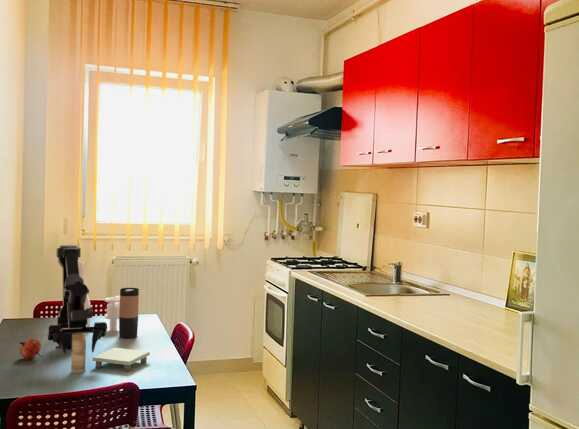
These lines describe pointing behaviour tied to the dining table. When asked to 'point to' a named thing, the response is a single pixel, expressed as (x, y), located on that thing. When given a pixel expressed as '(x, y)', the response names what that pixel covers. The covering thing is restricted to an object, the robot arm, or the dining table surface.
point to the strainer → (113, 312)
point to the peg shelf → (121, 357)
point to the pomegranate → (30, 349)
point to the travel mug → (128, 313)
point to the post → (78, 352)
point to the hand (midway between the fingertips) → (79, 352)
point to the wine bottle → (87, 302)
